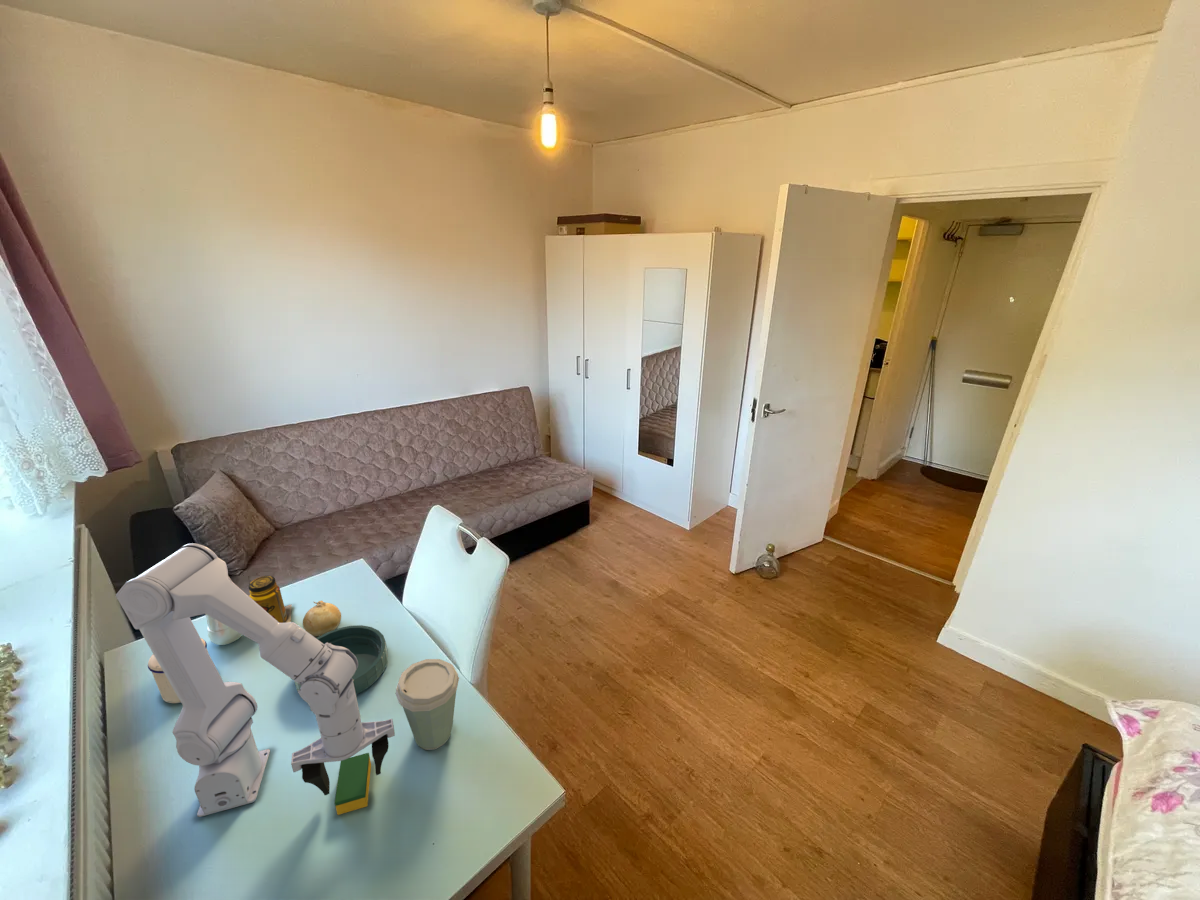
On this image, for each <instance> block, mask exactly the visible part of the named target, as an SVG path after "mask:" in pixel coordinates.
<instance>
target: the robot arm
mask: <svg viewBox="0 0 1200 900" xmlns="http://www.w3.org/2000/svg"><path fill="white" fill-rule="evenodd" d="M228 576H229V571H228V566H227V563H226V561H225V560H223V559H221V558H220V557H218V555H217V554H216V553H215V552H214V551H213V550H212V549H210V548H209V547H207V546H205V545H203V544H200V543H193V542H192V543H187V544H184V545H182V546H181V547H180V548H179V549H177V550H176V551H175V552H174V553H171V554H170V555H169V556H167V557H165V559H162V560H161V561H159V562H158V563H156V564H155V565H153V566H152V567H150V568H148V569H146V570H145V571H143V572H142V573H140V574H138V576H136V577H134V578H131V579H129V580H128V581H126V582H125V583H124V584H123V585H122V586H121V588H120V589H119V590H118V591H117V593H115V598H116V600H117V601H118V603H119V604H120V607H121V608H122V609H123V611H124V613H125V615H126V617H127V618H128V620H129V622H130V623H131V625H132V627H133V629H135V630H139V631H140V633H141V635H142V637H143V639H144V640H145V642H146V644H147V646H148V647H149V649H150V651H151V652H152V654H154V656H155V658H156V659H157V661H158V663H159V665H160V666H161V668H162V670H163V672H164V673H165V675H166V677H167V679H168V680H169V682H170V684H171V686H172V687H173V689H174V691H175V693H176V694H177V696H178V698H179V700H180V701H181V702H180V703H181V705H182V708H181V710H180V713H179V715H178V718H177V720H176V722H175V723H174V726H173V729H172V735H173V736H174V738H175V741H176V742H175V748H176V752H177V754H178V756H179V757H180V758H181V759H182V760H183V761H184V762H185V763H188V764H189V765H193V766H197V767H199V768H198V774H197V778H196V781H195V784H194V793H195V795H196V798H197V800H198V803H199V807H198V811H197V813H196V816H197V817H198V818H203V817H205V816H208V815H213V814H216V813H219V812H223V811H226V810H231V809H234V808H238V807H240V806H245V805H248V804H251V803H254V802H255V801H256V800H257V798H258V794H259V792H260V787H261V784H262V781H263V778H264V774H265V770H266V767H267V764H268V760H269V758H270V754H271V750H270V748H266V749H262V750H258V749H259V748H258V747H257V744H256V740H255V737H254V734H253V731H252V725H253V724H254V720H253V716H254V715H255V714H256V713H257V711H258V702H257V701H256V699H255V697H254V696H253V695H252V694H251V693H250V692H248V691H247V690H246V689H245V687H244V686H243V683H242V682H241V683H240V682H236V681H224V680H223V678H222V677H221V675H220V673H219V671H218V669H217V667H216V665H215V663H214V661H213V659H212V657H211V655H210V654H209V651H208V649H207V650H206V648H205V646H204V644H203V642H202V640H201V638H202V637H200V635H199V632H198V631H197V628H196V627H195V625H194V622H193V621H192V617H196V616H201V615H205V614H207V615H209V616H211V617H212V618H214V619H216V620H218V621H219V622H221V623H223V624H225V625H226V626H228V627H230V628H232V629H233V630H235V631H237V632H239V633H240V634H242V636H244V637H245V638H247V639H249V640H251V641H253V642H254V643H256V644H258V649H259V656H260V658H261V659H262V660H264V661H266V662H267V663H269V664H270V665H271V666H273V667H274V668H275V669H277V670H278V671H280V672H281V673H282V674H283V675H285V676H287V677H288V678H290V679H291V680H293V681H296V682H297V683H298V684H300V685H301V688H300V690H298V691H297V693H298V695H299V697H300V698H301V699H302V700H303V701H304V702H305V703H307V704H308V706H309V708H310V711H311V712H312V713H313V714H314V715H315V720H316V723H317V727H318V731H319V734H320V738H318V739H316V740H315V741H313V742H312V743H310V744H308V745H307V746H305V747H303V748H301V749H299V750H296V751H294V752H292V753H291V761H290V765H291V768H292V771H293V773H295V772H296V773H297V772H299V771H301V772H302V773H301V779H302V781H303V782H304V784H305V783H307V784H310V785H313V786H315V787H316V788H317V789H319V790H320V791H321V792H322V793H323V795H324V796H328V795H329V794H330V787H331V786H330V785H331V784H330V782H331V781H330V776H329V774H328V771H327V768H326V765H325V763H335V762H341V761H342V760H345V759H348V758H350V757H354V756H356V754H358V753H360V752H362V750H364V749H366V748H367V747H368V746H370V745H371V756H372V758H373V763H374V769H375V775H376V776H380V775H381V774H382V769H381V768H382V764H383V761H384V758H385V757H386V754H387V753H388V751H389V747H390V745H389V739H390V738H392V737H395V736H396V734H395V726H394V721H393V718H389V719H385V720H379V721H378V720H377V721H376V720H375V721H364V722H362V717H361V713H360V707H359V702H358V698H357V695H356V693H355V688H354V683H353V679H352V676H353V675H354V673H355V671H356V669H357V668H358V660H357V658H356V657H355V655H354V654H353V653H352V652H351V651H350V650H349V649H347V648H344V647H341V646H334V645H332V644H331V643H326V644H323V643H322V642H320V641H319V640H318V639H316V638H317V637H315V636H313V635H311V634H309V633H308V632H307V631H306V630H305V629H304V628H303V627H301V626H300V625H299V624H297V623H295V622H294V621H291V622H288V623H279V622H278V621H277V620H275V619H274V618H273V617H272V616H271V615H270V614H269V613H267V612H266V611H265V610H264V609H263V608H262V607H261V606H259V605H258V604H257V603H256V602H255V601H254V600H253V599H251V598H250V597H249V595H248V594H247V593H246V592H244V590H243V589H241V588H240V587H239V586H238V585H237V584H236V583H234V582H233V580H232V579H231V578H230V579H231V580H232V581H231V580H230V579H229V577H230V576H229V577H228ZM207 651H208V652H207Z"/></svg>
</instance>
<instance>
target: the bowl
mask: <svg viewBox="0 0 1200 900" xmlns="http://www.w3.org/2000/svg"><path fill="white" fill-rule="evenodd" d="M315 638H316V639H318V640H319V641H320V642H322V643H323V644H326V643H331V644H332V645H334V646H341V647H344V648H347V649H349V650H350V651H351V652H352V653H353V654H354V655H355V657H356V658H357V660H358V668H357V669H356V671H355V673H354V675H353V676H352V679H353V683H354V688H355V693H356V696H357V695H359V694H361V693H363V691H365V690H367V689H369V688H370V687H371V686H373V684H374V683H375V682H377V681H378V680H379V678H380V677H381V676H382V674H383V673H384V672H385V670H386V667H387V666H388V663H389V662H388V660H389V652H388V647H387V641H386V638H385V635H384V634H383V632H381V631H380V630H379V629H376V628H374V627H372V626H368V625H362V624H361V625H360V624H359V625H348V626H342V627H337V628H336V629H335V630H332V631H329V632H327V633H325V634H323V635H321V636H316V637H315ZM293 681H294V680H293ZM294 685H295V689H296V691H297V692H298V690H300V688H301V685H300V684H298V683H297V682H296V681H294Z"/></svg>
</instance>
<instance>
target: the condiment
mask: <svg viewBox="0 0 1200 900" xmlns="http://www.w3.org/2000/svg"><path fill="white" fill-rule="evenodd" d="M247 589H248V591H249V595H248V596H249V597H250V598H251V599H253V600H254V601H255V602H256V603H257V604H258V605H259V606H261V607H262V608H263V609H264V610H265V611H266V612H267V613H269V614H270V615H271V616H272V617H273V618H274V619H275V620H277V621H278V622H279V623H288V622H292V611H293V610H292V607H293V605H292V604H288V605H285V603H284V599H283V597H282V592H281V588H280V586H279V585H278V584H277V581H276V578H275V577H274V576H273V575H261V576H258V577H256V578H255V579H253V580H251V581H250V582H249V583H248V588H247Z"/></svg>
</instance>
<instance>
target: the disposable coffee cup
mask: <svg viewBox="0 0 1200 900" xmlns="http://www.w3.org/2000/svg"><path fill="white" fill-rule="evenodd" d="M459 680H460V676H459V674H458V672H457V670H456V668H455V666H454V664H452V663H450V662H448V661H445V660H443V659H441V658H427V659H426V658H425V659H422V660H419V661H417V662H415V663H412V664H411V665H409V666H408V667H407V668H406V669H404V671H403V672H401V674H400V676H399V679H398V682H397V685H396V687H395V696H396V699H397V702H398V703H399V705H400V706H401V707H402V709H403V712H404V714H405V717H406V719H407V722H408V725H409V728H410V730H411V733H412V735H413V738H414V741H415V744H416V745H417V746H418V747H419V748H421V749H423V750H425V751H431V750H432V751H433V750H437V749H438V748H440V747H443V746H444V745H445V744H446V742H447V741H448V740H449V739H450V736H451V735H452V730H453V725H454V716H455V707H456V706H455V705H456V696H457V690H458V686H459Z"/></svg>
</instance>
